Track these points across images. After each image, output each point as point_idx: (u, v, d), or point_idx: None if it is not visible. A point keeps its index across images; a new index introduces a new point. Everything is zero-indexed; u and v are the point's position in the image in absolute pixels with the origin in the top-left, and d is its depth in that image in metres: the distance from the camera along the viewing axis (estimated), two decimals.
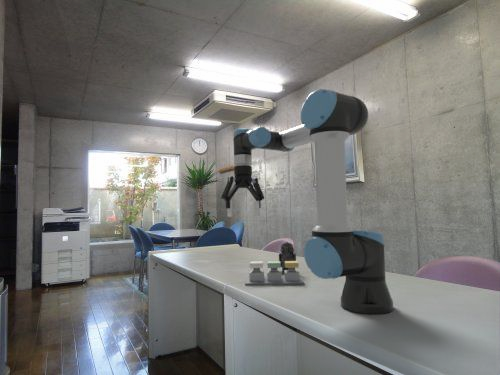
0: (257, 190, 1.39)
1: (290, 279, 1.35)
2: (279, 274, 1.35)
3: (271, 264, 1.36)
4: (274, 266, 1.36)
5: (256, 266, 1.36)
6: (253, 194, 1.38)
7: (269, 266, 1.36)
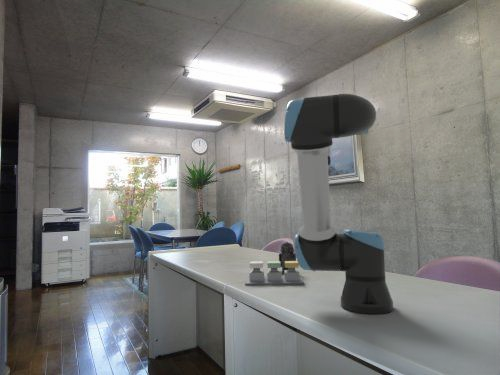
0: None
1: (290, 279, 1.35)
2: (279, 274, 1.35)
3: (271, 264, 1.36)
4: (274, 266, 1.36)
5: (256, 266, 1.36)
6: None
7: (269, 266, 1.36)
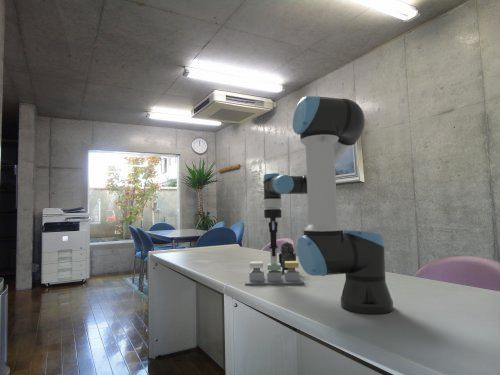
0: None
1: (290, 279, 1.35)
2: (279, 274, 1.35)
3: (271, 266, 1.36)
4: (274, 268, 1.35)
5: (256, 266, 1.36)
6: None
7: (269, 268, 1.36)
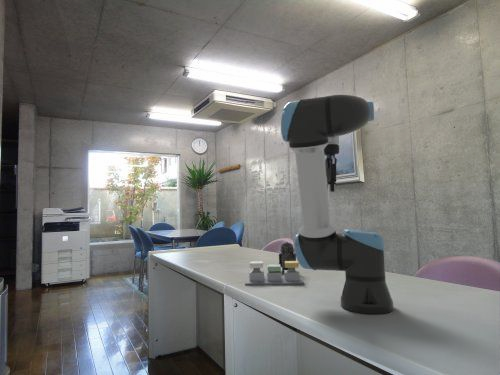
0: None
1: (290, 279, 1.35)
2: (279, 274, 1.35)
3: (271, 268, 1.36)
4: (274, 270, 1.35)
5: (256, 266, 1.36)
6: None
7: (269, 270, 1.36)
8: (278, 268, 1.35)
